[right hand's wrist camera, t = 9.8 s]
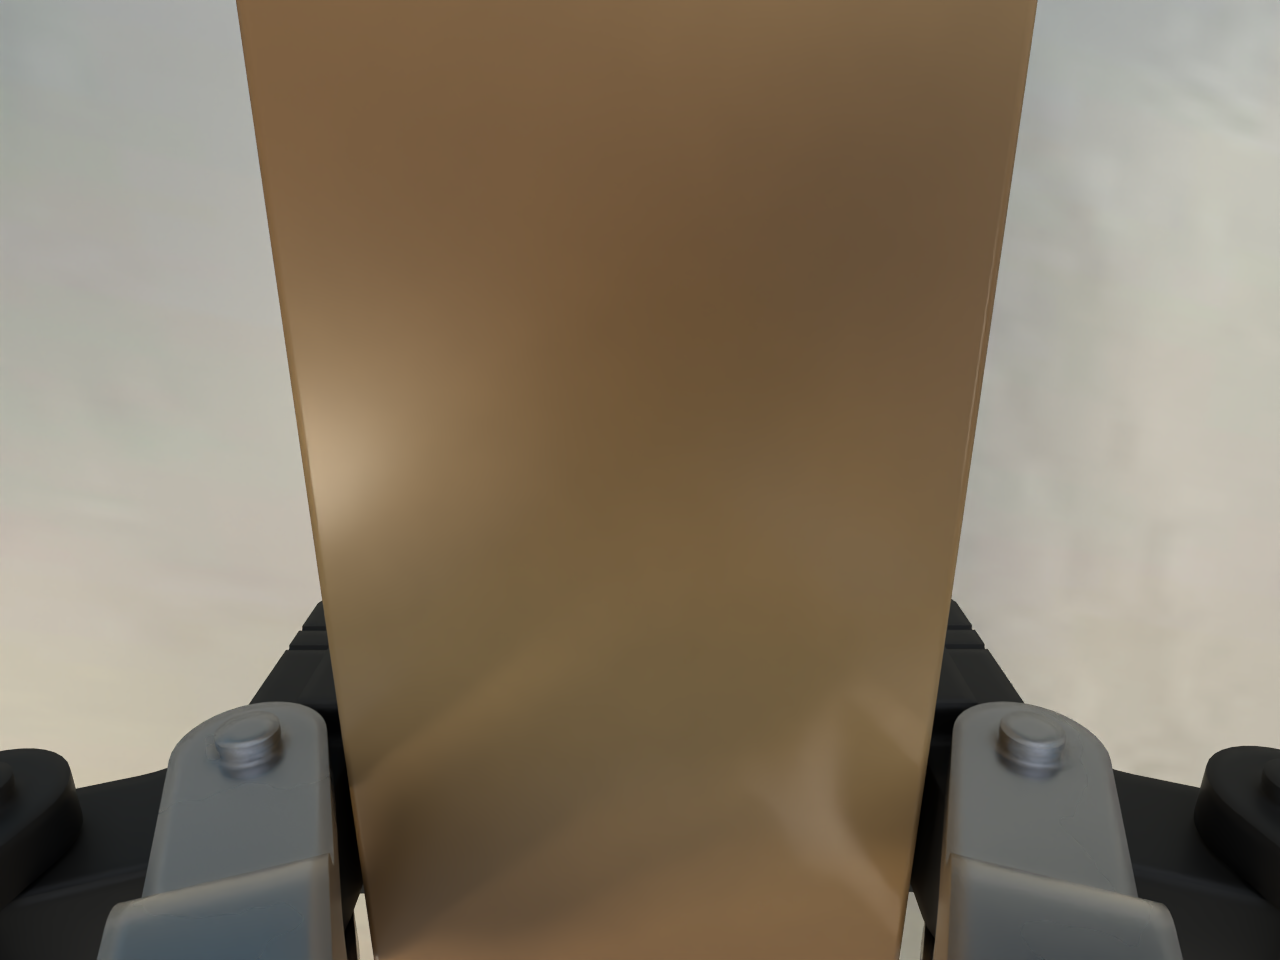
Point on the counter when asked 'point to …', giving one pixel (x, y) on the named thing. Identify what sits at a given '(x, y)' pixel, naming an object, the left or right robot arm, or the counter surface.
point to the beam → (636, 446)
